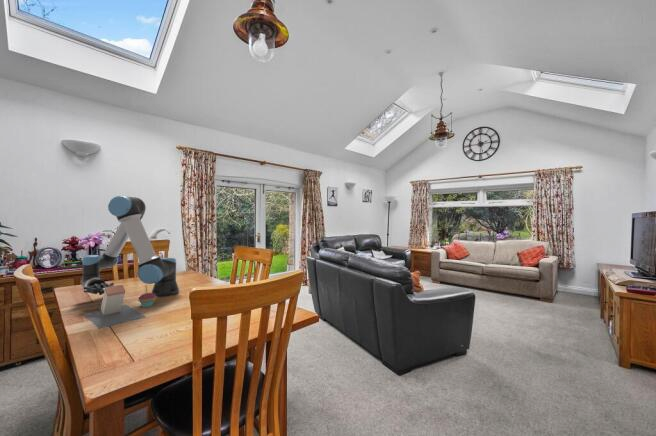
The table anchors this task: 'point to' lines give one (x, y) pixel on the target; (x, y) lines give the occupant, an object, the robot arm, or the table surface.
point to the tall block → (112, 299)
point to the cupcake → (147, 299)
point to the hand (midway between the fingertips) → (107, 292)
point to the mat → (114, 317)
